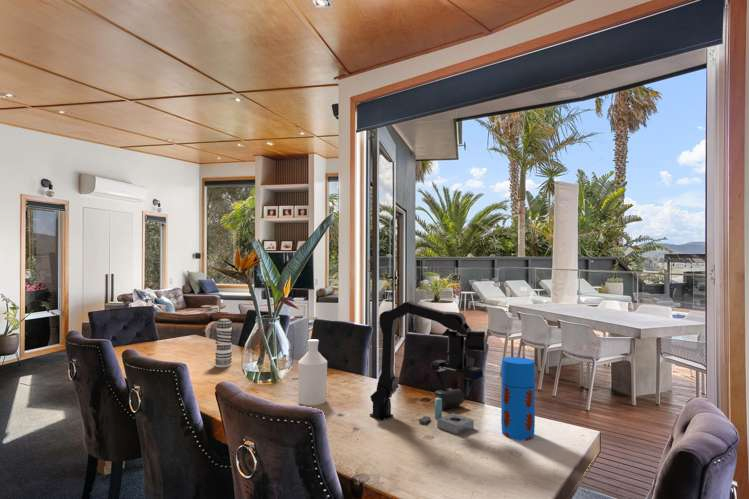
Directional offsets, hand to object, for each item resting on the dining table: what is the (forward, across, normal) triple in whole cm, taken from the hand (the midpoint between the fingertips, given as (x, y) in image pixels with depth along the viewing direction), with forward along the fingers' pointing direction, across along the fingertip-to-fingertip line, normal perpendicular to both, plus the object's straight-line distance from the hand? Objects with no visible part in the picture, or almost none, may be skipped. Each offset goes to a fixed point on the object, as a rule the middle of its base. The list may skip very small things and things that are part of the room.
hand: (455, 393), depth 159 cm
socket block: (+12, 0, 0) cm, 12 cm away
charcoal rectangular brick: (+12, +11, +4) cm, 17 cm away
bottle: (+12, +58, +21) cm, 62 cm away
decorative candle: (+12, +140, +22) cm, 142 cm away
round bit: (+12, +10, -4) cm, 16 cm away
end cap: (+12, +16, -16) cm, 26 cm away
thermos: (+12, -18, -12) cm, 24 cm away
